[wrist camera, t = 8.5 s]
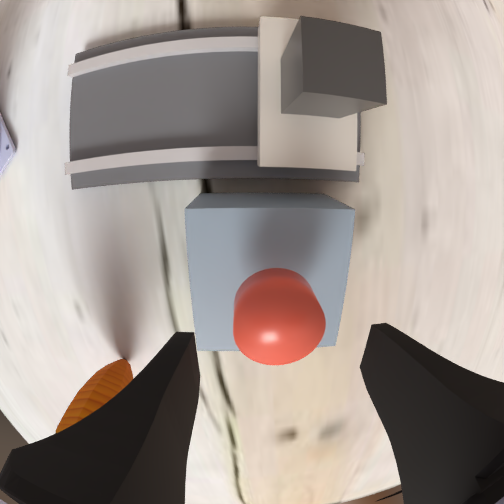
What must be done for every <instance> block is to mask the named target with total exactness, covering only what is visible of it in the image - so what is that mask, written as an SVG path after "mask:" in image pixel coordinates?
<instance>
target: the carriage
mask: <svg viewBox="0 0 504 504" xmlns="http://www.w3.org/2000/svg"><path fill="white" fill-rule="evenodd" d="M386 104H387V97H386V78H385V65H384V54H383V45H382V37H381V32H379V31H375V30H371V29H368V28H364V27H359V26H355V25H351V24H346V23H341V22H336V21H331V20H325V19H319V18H312V17H304V16H300V18H299V19H293V18H281V17H265V16H260V20H259V27H258V153H257V165H258V166H259V167H294V168H316V169H333V170H347V171H356V165H357V113H358V112H362V111H365V110H369V109H372V108H376V107H379V106H383V105H386Z"/></svg>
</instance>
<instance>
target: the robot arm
mask: <svg viewBox="0 0 504 504" xmlns="http://www.w3.org/2000/svg"><path fill="white" fill-rule="evenodd" d="M14 154H15V146H14V144H13V141H12V139H11V137H10V135H9V132H8V130H7V128H6V125H5V123H4V120H3V118H2V115H1V112H0V176H1V174H2V173H3V171H4V169H5V168H6V166H7V165H8V163H9V162H10V160H11V159H12V157H13V156H14ZM360 369H361V372H362V376H363V379H364V382H365V385H366V389H367V391H368V393H369V395H370V398H371V400H372V402H373V404H374V406H375V408H376V410H377V413H378V415H379V417H380V419H381V421H382V423H383V425H384V428H385V430H386V432H387V434H388V437H389V440H390V442H391V445H392V449H393V452H394V456H395V459H396V463H397V467H398V472H399V476H400V481H401V487H402V493H403V500H404V504H504V383H503V382H499V381H496V380H493V379H490V378H487V377H484V376H481V375H479V374H476V373H474V372H472V371H469V370H467V369H465V368H463V367H461V366H459V365H457V364H455V363H453V362H451V361H449V360H447V359H445V358H444V357H442V356H440V355H438V354H437V353H435V352H433V351H432V350H430V349H428V348H427V347H425V346H423V345H422V344H420V343H419V342H417V341H416V340H414V339H412V338H411V337H409V336H408V335H406V334H404V333H403V332H401V331H399V330H398V329H396V328H394V327H393V326H391V325H389V324H387V323H381V324H373V325H371V329H370V333H369V337H368V340H367V344H366V348H365V351H364V355H363V358H362V361H361V365H360ZM199 386H200V371H199V365H198V358H197V351H196V343H195V336H194V332H176V333H175V334H174V335H173V336H172V337H171V338H170V339H169V341H168V342H167V343H166V344H165V345H164V346H163V348H162V349H161V350H160V351H159V352H158V353H157V355H156V356H155V357H154V358H153V359H152V360H151V361H150V362H149V363H148V364H147V366H146V367H145V368H144V369H143V370H142V371H141V372H140V373H139V374H138V375H137V376H136V377H135V378H134V379H133V380H132V381H131V382H130V383H129V384H128V385H127V386H126V387H125V388H123V389H122V390H121V391H120V392H119V393H118V394H117V395H115V396H114V397H113V398H112V399H110V400H109V401H108V402H107V403H105V404H104V405H103V406H101V407H100V408H99V409H97V410H96V411H94V412H93V413H91V414H89V415H88V416H86V417H85V418H83V419H82V420H80V421H78V422H77V423H75V424H73V425H72V426H70V427H68V428H66V429H64V430H62V431H60V432H58V433H56V434H54V435H52V436H49V437H47V438H45V439H42V440H40V441H37V442H34V443H31V444H28V445H25V446H22V447H19V448H16V449H12V451H11V453H10V454H9V456H8V458H7V461H6V463H5V464H4V467H3V469H2V471H1V473H0V489H1V490H2V491H3V492H4V493H6V494H7V495H8V496H9V497H11V498H12V499H13V500H15V501H16V502H18V503H19V504H185V480H186V464H187V456H188V450H189V445H190V440H191V435H192V430H193V425H194V420H195V415H196V410H197V405H198V398H199ZM0 504H6V503H5V502H4V501H2V500H1V499H0Z"/></svg>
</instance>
